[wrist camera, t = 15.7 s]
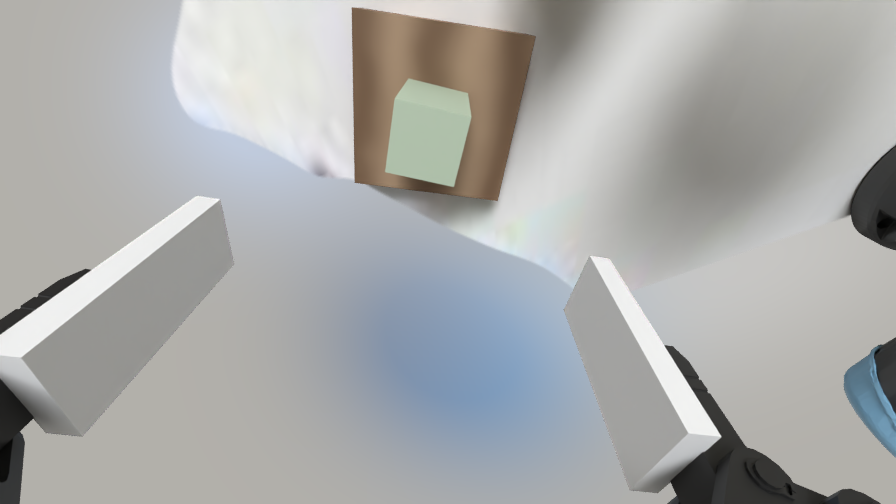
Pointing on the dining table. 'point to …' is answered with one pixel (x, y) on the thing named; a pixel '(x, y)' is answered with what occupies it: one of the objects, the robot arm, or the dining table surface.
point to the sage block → (428, 132)
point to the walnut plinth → (443, 64)
